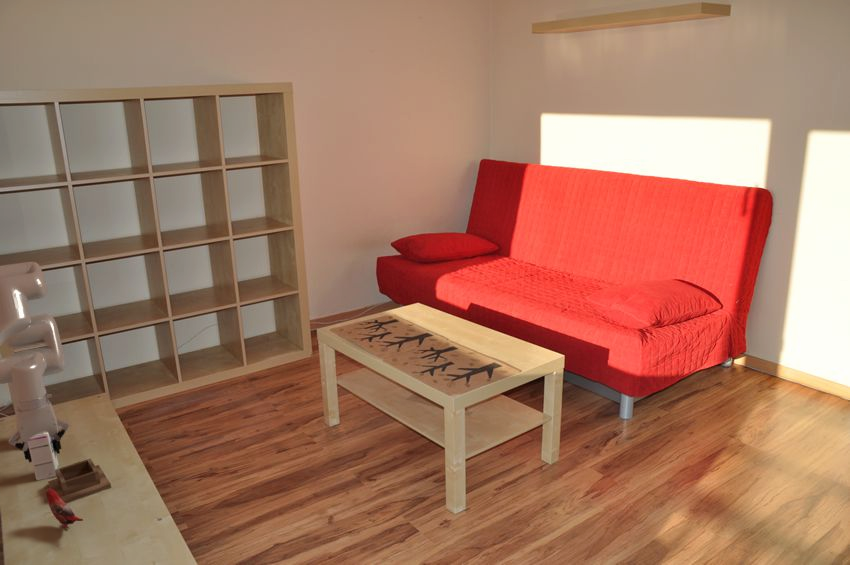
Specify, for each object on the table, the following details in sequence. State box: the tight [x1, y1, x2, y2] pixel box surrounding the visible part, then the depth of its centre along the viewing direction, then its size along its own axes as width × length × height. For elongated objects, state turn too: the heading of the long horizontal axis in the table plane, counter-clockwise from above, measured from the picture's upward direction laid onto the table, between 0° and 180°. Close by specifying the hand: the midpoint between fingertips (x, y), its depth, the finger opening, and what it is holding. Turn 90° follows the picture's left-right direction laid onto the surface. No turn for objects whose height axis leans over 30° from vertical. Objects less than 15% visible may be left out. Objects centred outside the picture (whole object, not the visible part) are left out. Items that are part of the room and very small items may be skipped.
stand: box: [47, 458, 112, 504], centre depth 199 cm, size 14×14×5 cm
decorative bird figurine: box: [45, 488, 84, 530], centre depth 178 cm, size 3×18×10 cm, turn 55°
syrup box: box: [28, 432, 60, 481], centre depth 205 cm, size 6×6×14 cm
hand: (43, 455), depth 205 cm, fingers closed on syrup box, 6 cm apart
